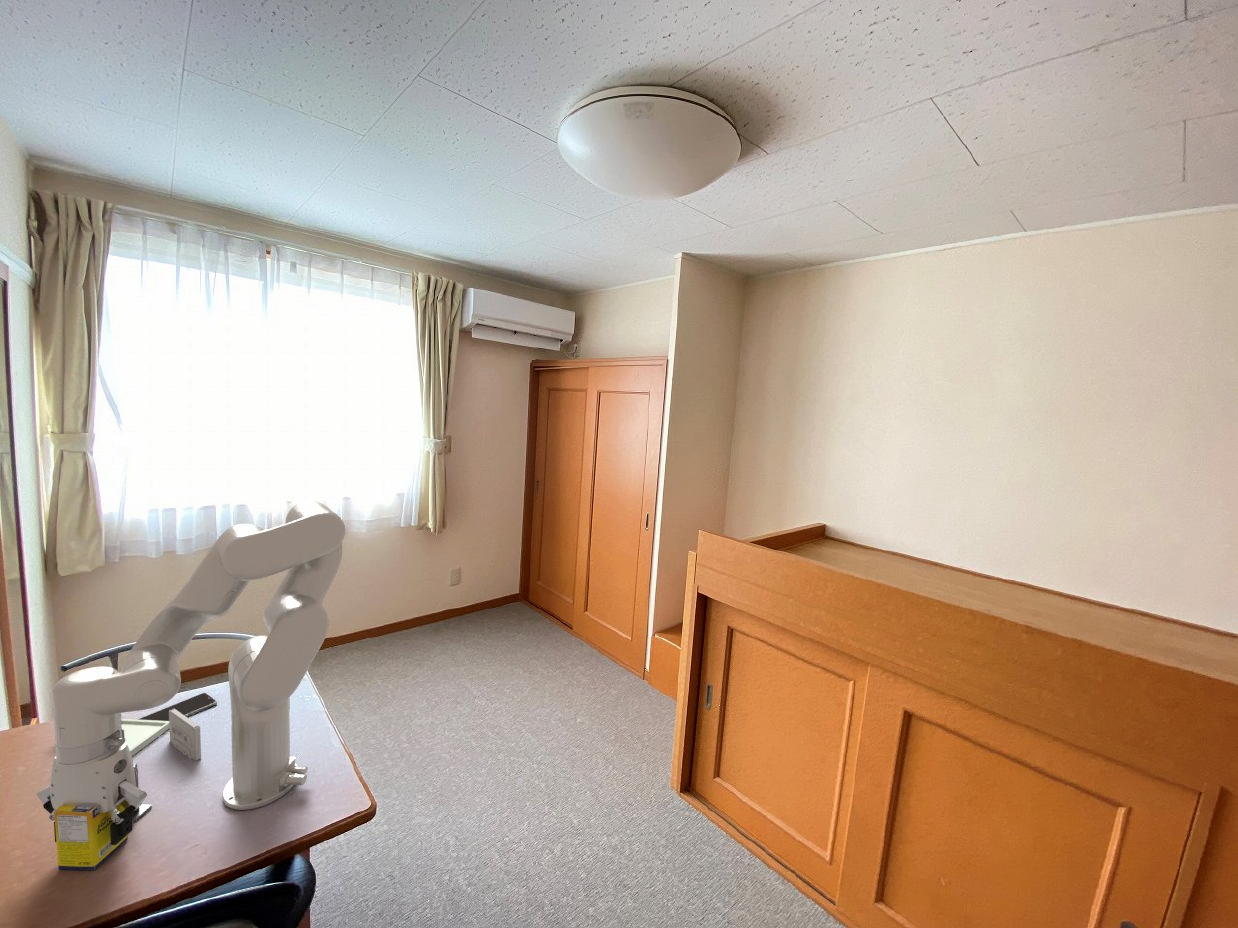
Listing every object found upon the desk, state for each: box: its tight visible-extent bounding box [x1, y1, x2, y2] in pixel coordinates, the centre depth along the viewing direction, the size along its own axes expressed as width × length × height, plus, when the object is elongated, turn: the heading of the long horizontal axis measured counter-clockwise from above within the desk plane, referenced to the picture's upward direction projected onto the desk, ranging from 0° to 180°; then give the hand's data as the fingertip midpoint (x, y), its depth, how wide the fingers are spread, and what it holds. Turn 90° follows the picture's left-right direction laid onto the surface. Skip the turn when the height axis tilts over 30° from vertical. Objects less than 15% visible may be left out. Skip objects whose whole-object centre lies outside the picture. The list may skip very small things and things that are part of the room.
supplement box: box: [54, 798, 129, 871], centre depth 83 cm, size 6×6×11 cm
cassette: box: [169, 709, 202, 761], centre depth 109 cm, size 12×2×8 cm, turn 63°
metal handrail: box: [122, 730, 153, 823], centre depth 96 cm, size 20×7×10 cm, turn 52°
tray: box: [121, 718, 170, 757], centre depth 109 cm, size 12×12×1 cm
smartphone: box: [137, 692, 218, 721], centre depth 120 cm, size 7×1×16 cm
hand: (94, 836), depth 84 cm, fingers open, 8 cm apart
